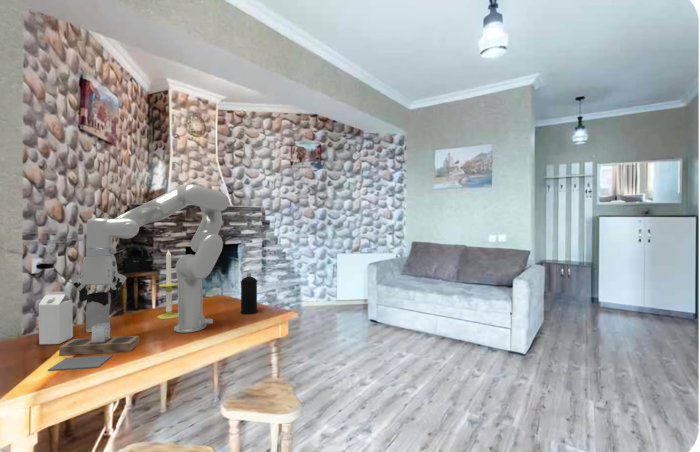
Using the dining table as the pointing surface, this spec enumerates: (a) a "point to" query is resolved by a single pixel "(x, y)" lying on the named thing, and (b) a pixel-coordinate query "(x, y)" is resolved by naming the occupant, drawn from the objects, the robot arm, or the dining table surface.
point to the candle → (168, 290)
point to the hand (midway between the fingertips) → (98, 300)
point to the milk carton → (55, 318)
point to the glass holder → (97, 309)
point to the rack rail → (99, 346)
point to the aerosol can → (248, 295)
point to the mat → (80, 363)
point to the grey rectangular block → (100, 333)
